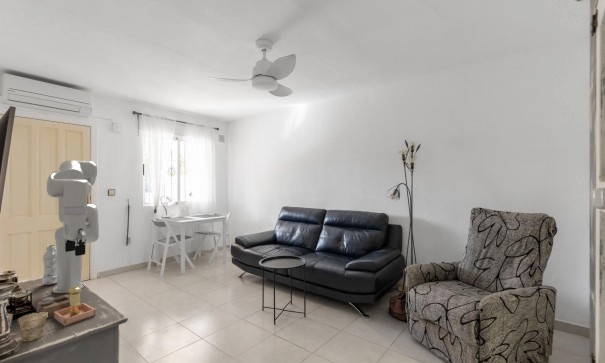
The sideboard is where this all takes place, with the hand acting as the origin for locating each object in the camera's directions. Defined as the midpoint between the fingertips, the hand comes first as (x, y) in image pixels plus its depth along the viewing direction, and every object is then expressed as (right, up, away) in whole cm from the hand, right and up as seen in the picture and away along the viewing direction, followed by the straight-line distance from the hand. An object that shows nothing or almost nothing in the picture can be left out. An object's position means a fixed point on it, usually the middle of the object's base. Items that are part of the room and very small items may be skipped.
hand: (75, 253), depth 113 cm
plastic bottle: (-40, -25, +34) cm, 58 cm away
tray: (0, -26, 0) cm, 26 cm away
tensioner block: (-12, -26, +5) cm, 29 cm away
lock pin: (0, -25, 0) cm, 25 cm away
